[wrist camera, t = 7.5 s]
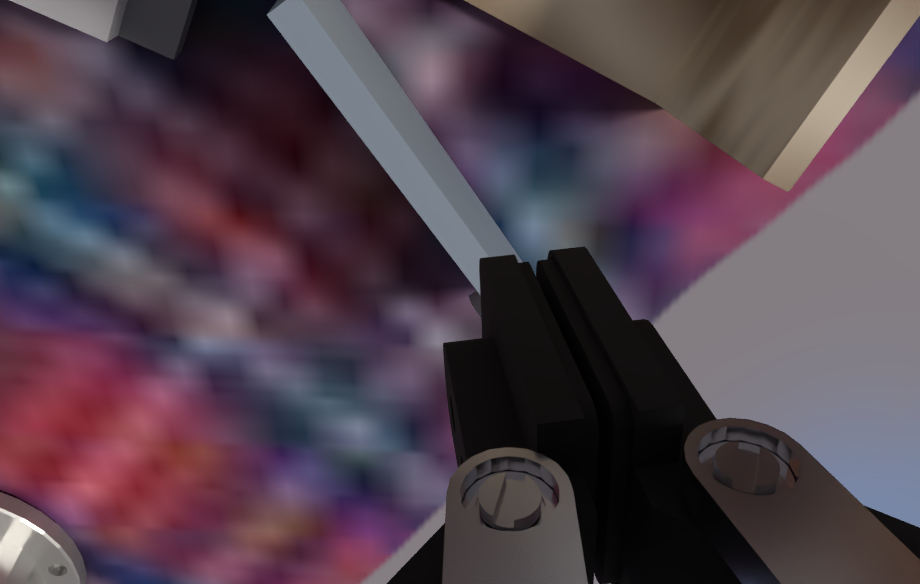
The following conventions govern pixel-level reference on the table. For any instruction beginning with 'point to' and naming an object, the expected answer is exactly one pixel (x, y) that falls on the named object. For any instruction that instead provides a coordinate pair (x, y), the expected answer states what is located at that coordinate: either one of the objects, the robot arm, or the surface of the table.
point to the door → (391, 130)
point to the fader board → (125, 20)
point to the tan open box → (730, 63)
